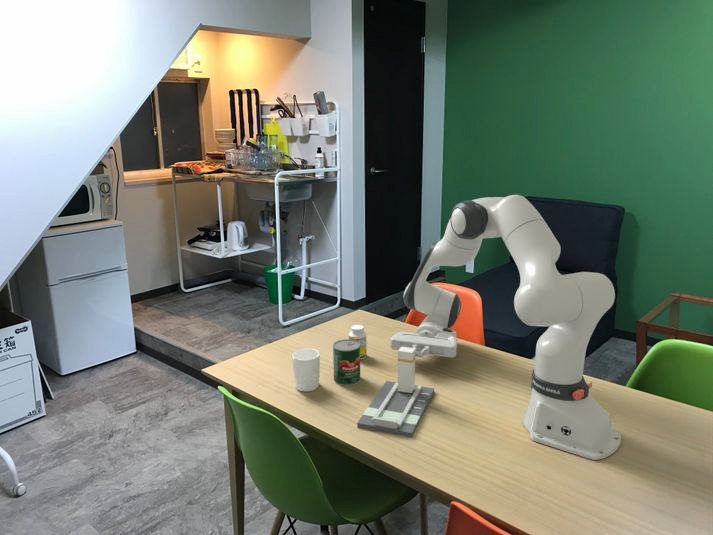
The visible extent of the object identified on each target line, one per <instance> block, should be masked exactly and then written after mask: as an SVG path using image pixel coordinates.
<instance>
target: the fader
mask: <svg viewBox="0 0 713 535" xmlns="http://www.w3.org/2000/svg"><path fill="white" fill-rule="evenodd" d="M415 373H416V357H415V348H409V347H400V349H399V350H397V383H398V391H401V392H407V393H412V392H413V390H414V389H415V385H416V384H415V383H416V374H415Z"/></svg>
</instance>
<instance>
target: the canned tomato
mask: <svg viewBox="0 0 713 535" xmlns="http://www.w3.org/2000/svg"><path fill="white" fill-rule="evenodd" d="M332 352H333V353H332V355H333V357H332V358H333V381H335V382H336V385H339V384H340V385H339V386H344V385H349V386H353V384H354V385H356V383H357V384H358V383H359V382H361V360H360V343H359V342H357V341H355V340H349V338H347V339H339V340H337V341H334V342H333V344H332ZM335 382H334V383H335Z"/></svg>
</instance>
